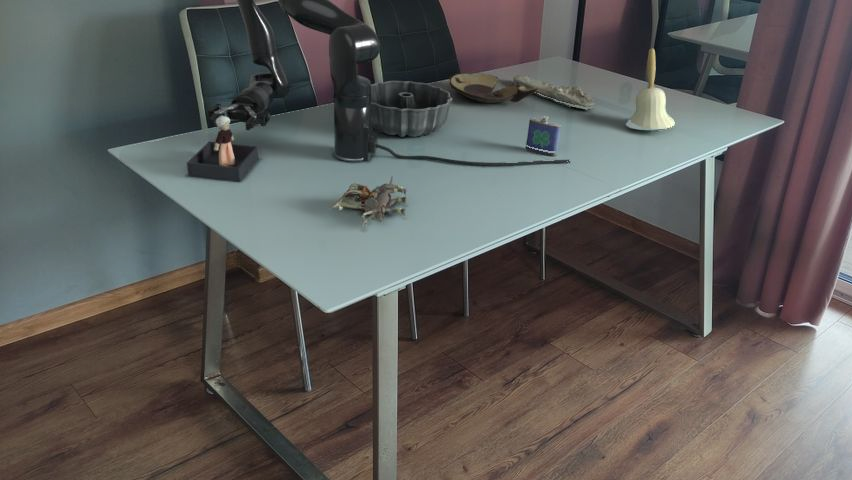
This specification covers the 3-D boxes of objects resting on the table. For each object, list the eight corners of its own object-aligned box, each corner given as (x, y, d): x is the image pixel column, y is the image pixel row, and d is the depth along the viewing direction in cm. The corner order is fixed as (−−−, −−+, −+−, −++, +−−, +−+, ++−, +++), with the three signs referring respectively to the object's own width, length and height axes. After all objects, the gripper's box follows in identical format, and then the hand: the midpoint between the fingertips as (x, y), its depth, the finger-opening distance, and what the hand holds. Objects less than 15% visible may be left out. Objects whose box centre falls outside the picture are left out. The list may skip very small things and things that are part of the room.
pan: (258, 159, 191) (257, 146, 189) (239, 181, 179) (238, 168, 177) (210, 154, 191) (208, 141, 189) (188, 176, 179) (186, 162, 177)
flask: (557, 154, 214) (563, 118, 209) (554, 157, 212) (559, 121, 207) (527, 147, 217) (531, 111, 211) (523, 150, 215) (528, 114, 209)
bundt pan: (340, 130, 214) (340, 95, 208) (386, 106, 235) (387, 74, 230) (424, 151, 206) (425, 116, 201) (464, 124, 228) (466, 92, 223)
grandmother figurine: (229, 172, 181) (225, 122, 175) (213, 171, 181) (208, 120, 175) (240, 160, 188) (236, 111, 181) (225, 159, 188) (220, 109, 181)
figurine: (405, 211, 162) (325, 208, 160) (404, 235, 166) (326, 232, 164) (407, 169, 179) (334, 165, 177) (406, 191, 182) (335, 188, 180)
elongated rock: (524, 84, 273) (505, 90, 267) (525, 70, 271) (505, 75, 264) (602, 108, 253) (583, 114, 247) (603, 92, 250) (584, 98, 244)
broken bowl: (482, 83, 265) (484, 61, 261) (544, 109, 248) (547, 86, 244) (433, 92, 251) (434, 69, 247) (494, 120, 234) (497, 96, 230)
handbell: (665, 137, 232) (667, 53, 221) (618, 133, 239) (618, 52, 228) (680, 125, 244) (684, 44, 233) (636, 121, 251) (637, 43, 240)
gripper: (222, 86, 197) (199, 106, 183) (277, 92, 197) (258, 112, 183) (224, 114, 201) (202, 136, 187) (278, 120, 201) (260, 142, 187)
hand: (229, 124), depth 185 cm, fingers open, 8 cm apart
